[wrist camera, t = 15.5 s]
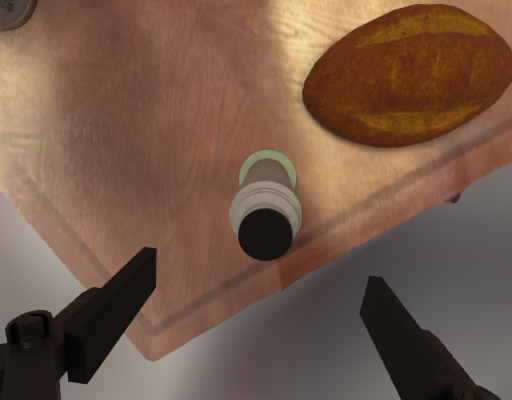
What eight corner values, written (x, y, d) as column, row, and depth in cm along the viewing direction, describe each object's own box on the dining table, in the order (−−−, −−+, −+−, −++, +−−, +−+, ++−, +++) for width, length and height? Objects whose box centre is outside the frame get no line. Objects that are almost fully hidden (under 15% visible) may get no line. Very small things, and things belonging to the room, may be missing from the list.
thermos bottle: (250, 202, 51) (229, 282, 24) (243, 161, 49) (210, 201, 22) (290, 195, 51) (315, 272, 24) (285, 154, 49) (304, 186, 22)
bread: (300, 22, 44) (312, -18, 32) (508, 8, 42) (603, -41, 30) (300, 150, 49) (310, 157, 37) (484, 143, 47) (557, 147, 35)
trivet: (242, 146, 49) (241, 146, 49) (300, 153, 49) (300, 153, 49) (236, 201, 52) (236, 202, 52) (291, 208, 52) (291, 209, 51)
